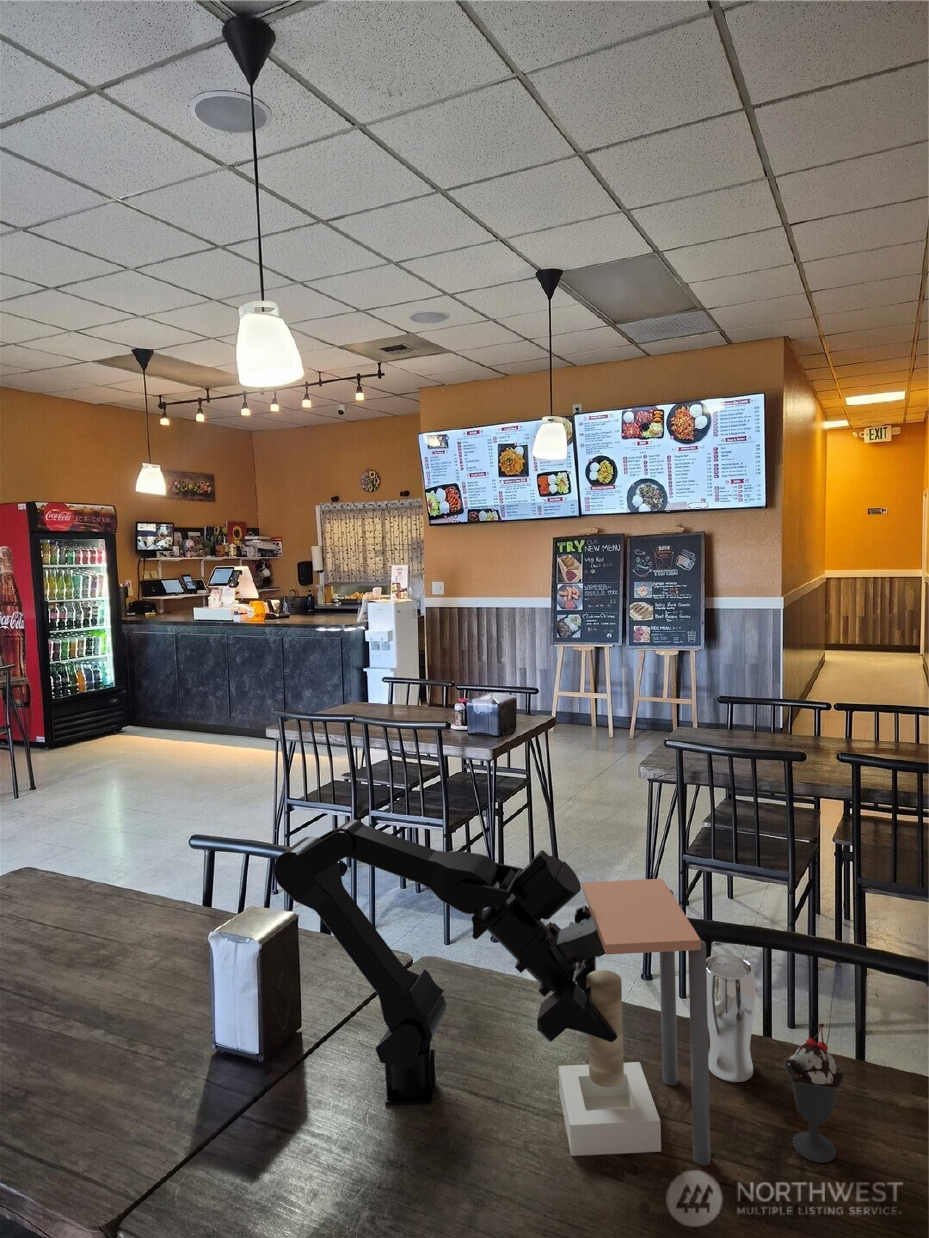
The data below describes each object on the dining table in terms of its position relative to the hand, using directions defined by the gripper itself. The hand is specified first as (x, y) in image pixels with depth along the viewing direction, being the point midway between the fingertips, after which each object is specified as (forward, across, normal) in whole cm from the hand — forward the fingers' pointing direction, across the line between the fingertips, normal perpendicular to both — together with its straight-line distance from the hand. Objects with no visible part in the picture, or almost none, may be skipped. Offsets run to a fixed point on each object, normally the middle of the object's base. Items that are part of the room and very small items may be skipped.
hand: (615, 1027), depth 100 cm
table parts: (+10, 0, +8) cm, 13 cm away
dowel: (+4, 0, +6) cm, 7 cm away
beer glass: (+20, +13, -2) cm, 23 cm away
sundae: (+26, 0, -8) cm, 27 cm away
